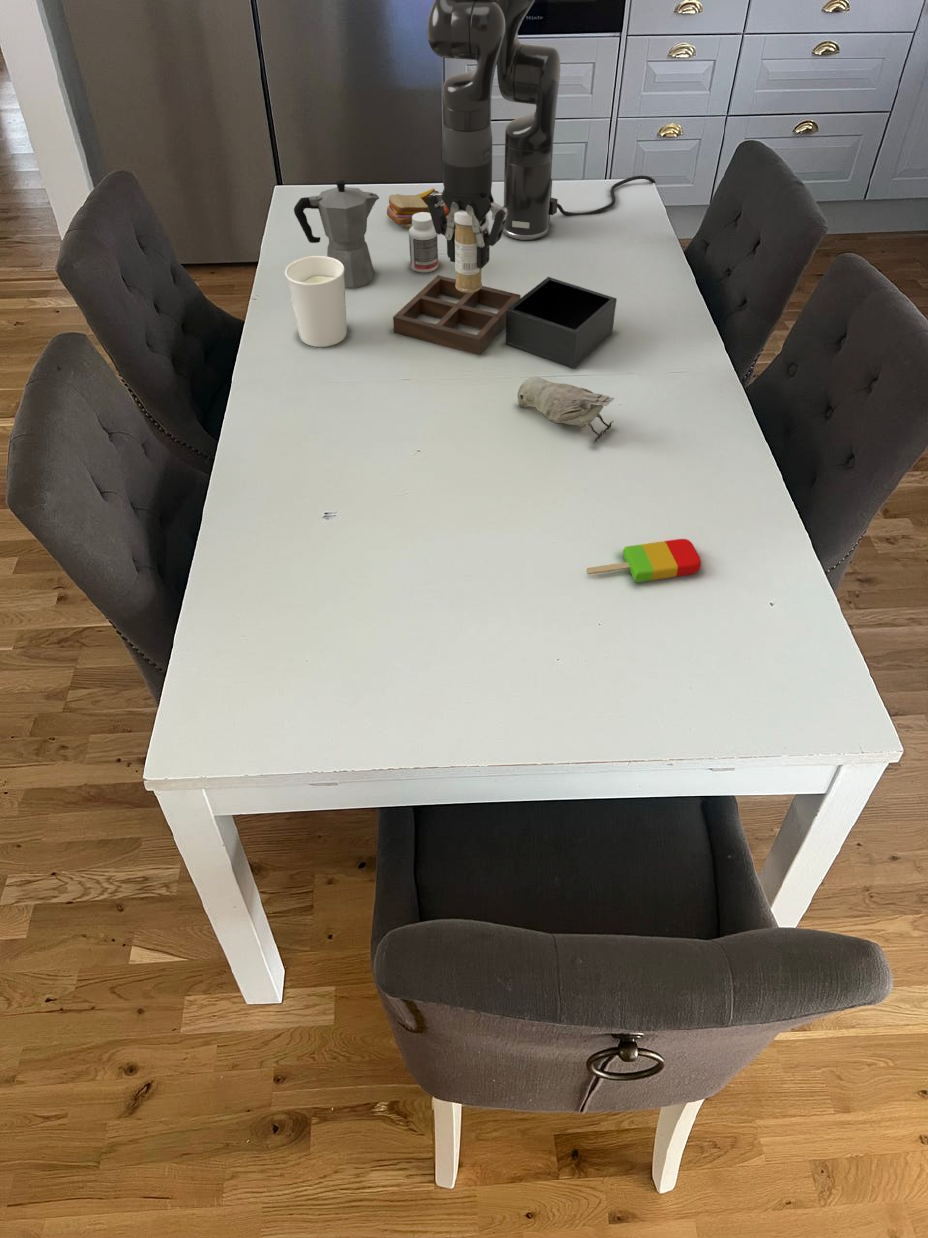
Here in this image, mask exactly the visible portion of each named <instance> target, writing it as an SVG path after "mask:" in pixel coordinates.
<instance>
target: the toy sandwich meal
mask: <svg viewBox="0 0 928 1238" xmlns="http://www.w3.org/2000/svg"><path fill="white" fill-rule="evenodd" d="M434 191H436V189H435V188H434V187H433V188H431V189H429V190H426V191H424V192H422V193H418V194H398V193H397V194H390V195H389V196H388V204H389V205H388V206H387V208H386V216H387V217H388V218H389V219H390V220H391V221H392V222H394V223H395V224H398V225H399V226H401V227H402V228H406V229H409V230H410V228H411V227H412V226H413V225H412V216H413V215H414V214H416V213H420V212H427V213H430V211H429V208H428V204H427V201H426V199H427V197H428V196H429V195H430V194H432V193H433V192H434ZM443 207H444V210H445V214H446V217H447V221H448V218H449V214H450V212H449V210H448V208H447V206H446V205H445V203H444V205H443ZM433 226H434V225H433Z"/></svg>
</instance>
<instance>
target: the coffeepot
mask: <svg viewBox="0 0 928 1238" xmlns="http://www.w3.org/2000/svg"><path fill="white" fill-rule="evenodd" d="M335 184H336V187H334V188H329V189H326V190H323V191H321V192H320V193H319V195H312V196H311V195H310V196H307V197H306V196H305V197H300V198H299V200H298V201H297V203H296V204H295V206H294V208H293V213H294V215H295V218H296V219H297V221H298V223H299V225H300V227H301V229H302V231H303V234H304V235H305V237H306V240H307V241H308V243H310V244H317V243H320V242H321V236H314V235H313V230H312V227H311V225H310V224H309V221H308V218H307V215H306V213H305V212H304V211H305V209H312V210H318V212H319V217H320V220H321V224H322V227H323V231H324V234H325V236H326V237H327V238H328V245H327V253H326V257H331V258H334V259H337V260H338V261H340V262H341V263H342V264H343V266H344V280H345V289H357V288H360V287H363V286H366V285H368V284H370V283H371V281H372V280H373V279H374V275H375V269H374V266H373V261H372V258H371V254H370V250H369V246H368V243H367V242H366V238H365V236H366V233H367V228H368V218H369V215H370V213H371V212H372V209H373V208H374V206H375V204H376V202H377V201H378V200H379V199H380V196H379V195H378V193H373V192H372V191H371V192H370V191H363V190H362V189H360V188H359V187H347V186H346V180H344V179H337V180H336V181H335Z"/></svg>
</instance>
